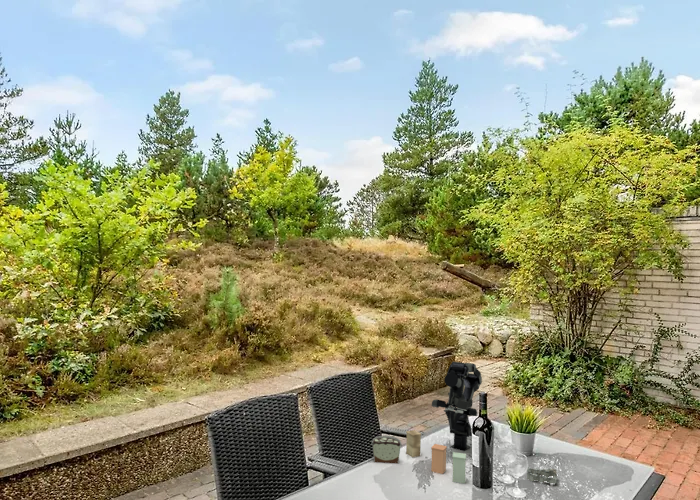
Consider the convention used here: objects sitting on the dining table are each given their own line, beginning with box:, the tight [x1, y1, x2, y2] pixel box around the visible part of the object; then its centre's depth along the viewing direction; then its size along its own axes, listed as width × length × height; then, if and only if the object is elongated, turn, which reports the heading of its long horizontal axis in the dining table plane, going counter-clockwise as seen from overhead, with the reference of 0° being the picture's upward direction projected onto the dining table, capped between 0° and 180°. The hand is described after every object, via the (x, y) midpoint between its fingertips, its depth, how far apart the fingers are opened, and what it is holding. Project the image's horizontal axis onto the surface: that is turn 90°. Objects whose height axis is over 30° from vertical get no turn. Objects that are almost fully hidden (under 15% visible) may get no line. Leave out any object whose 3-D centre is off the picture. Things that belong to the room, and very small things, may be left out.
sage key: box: [451, 451, 467, 484], centre depth 169 cm, size 4×5×9 cm
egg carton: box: [526, 467, 558, 484], centre depth 173 cm, size 11×8×4 cm
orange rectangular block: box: [430, 443, 448, 475], centre depth 176 cm, size 4×5×9 cm
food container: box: [370, 435, 403, 465], centre depth 185 cm, size 12×6×10 cm, turn 84°
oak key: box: [405, 429, 422, 459], centre depth 190 cm, size 4×5×9 cm
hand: (451, 429), depth 190 cm, fingers closed
